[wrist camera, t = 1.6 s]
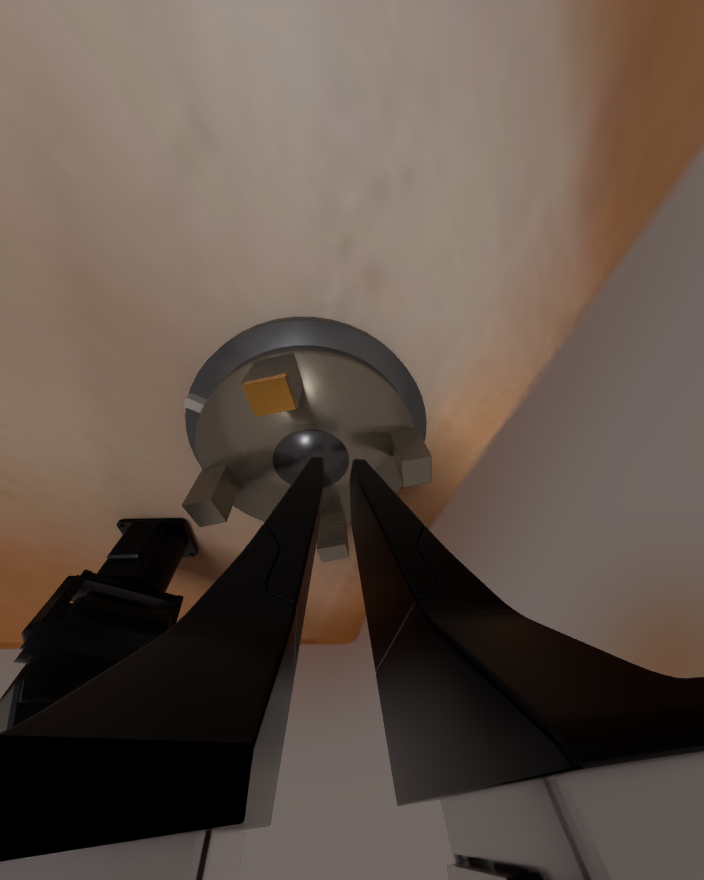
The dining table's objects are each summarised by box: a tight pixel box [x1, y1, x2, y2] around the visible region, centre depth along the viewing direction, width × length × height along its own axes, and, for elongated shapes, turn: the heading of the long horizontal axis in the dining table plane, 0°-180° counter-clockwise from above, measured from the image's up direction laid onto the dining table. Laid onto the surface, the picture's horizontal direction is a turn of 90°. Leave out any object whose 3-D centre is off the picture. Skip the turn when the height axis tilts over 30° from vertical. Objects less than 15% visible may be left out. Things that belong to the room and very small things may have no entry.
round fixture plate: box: [182, 345, 432, 562], centre depth 20 cm, size 17×17×6 cm
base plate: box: [183, 317, 426, 466], centre depth 23 cm, size 20×20×2 cm
